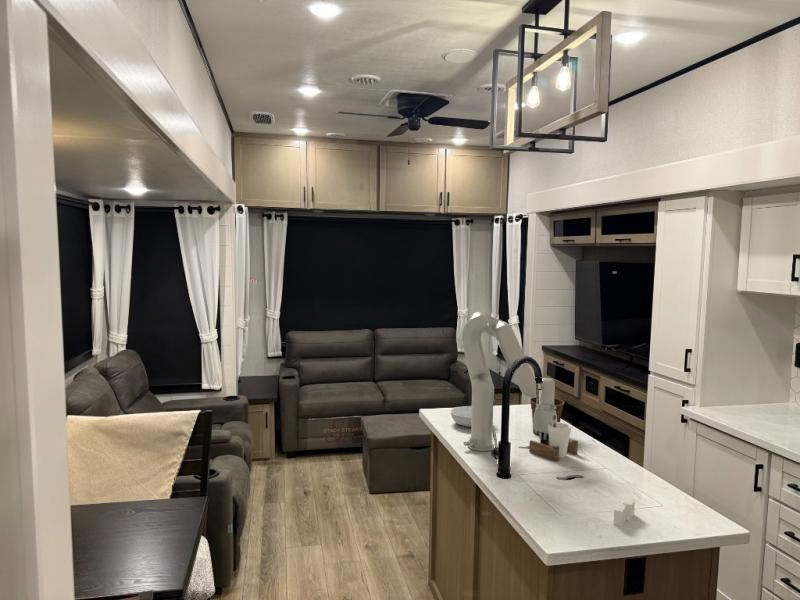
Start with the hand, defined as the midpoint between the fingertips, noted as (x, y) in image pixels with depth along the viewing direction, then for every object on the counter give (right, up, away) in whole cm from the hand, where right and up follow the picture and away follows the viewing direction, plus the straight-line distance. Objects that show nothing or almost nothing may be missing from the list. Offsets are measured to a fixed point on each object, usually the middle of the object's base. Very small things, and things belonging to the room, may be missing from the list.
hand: (544, 447), depth 236 cm
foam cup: (+4, -2, -6) cm, 8 cm away
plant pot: (+7, 0, +24) cm, 25 cm away
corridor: (+3, -2, -4) cm, 5 cm away
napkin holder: (+9, -6, -65) cm, 66 cm away
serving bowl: (-27, +1, +37) cm, 46 cm away
